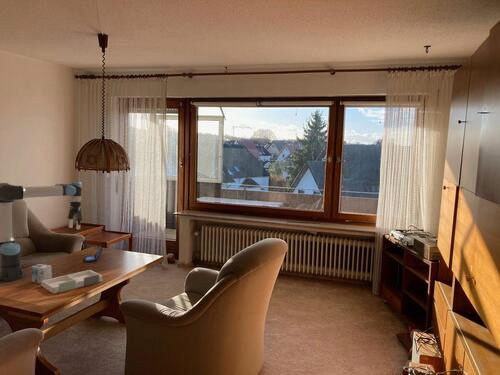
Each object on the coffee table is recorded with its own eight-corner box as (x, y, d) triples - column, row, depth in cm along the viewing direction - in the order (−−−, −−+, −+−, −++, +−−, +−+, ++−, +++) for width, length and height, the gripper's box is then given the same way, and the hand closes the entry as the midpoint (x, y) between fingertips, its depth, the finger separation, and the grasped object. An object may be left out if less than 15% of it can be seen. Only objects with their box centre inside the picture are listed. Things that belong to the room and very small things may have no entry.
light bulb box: (31, 282, 263) (31, 266, 262) (39, 278, 269) (39, 263, 268) (44, 283, 260) (43, 268, 259) (52, 280, 266) (51, 265, 265)
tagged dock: (53, 294, 243) (53, 285, 242) (41, 285, 256) (41, 277, 255) (104, 281, 267) (103, 273, 266) (90, 274, 280) (90, 267, 280)
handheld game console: (84, 257, 322) (84, 246, 321) (102, 256, 326) (101, 245, 326) (84, 263, 307) (83, 251, 306) (102, 261, 312) (102, 250, 311)
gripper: (87, 202, 303) (86, 229, 303) (73, 200, 319) (72, 226, 319) (78, 202, 297) (76, 230, 297) (64, 200, 314) (62, 226, 314)
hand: (74, 228), depth 308 cm, fingers open, 13 cm apart
